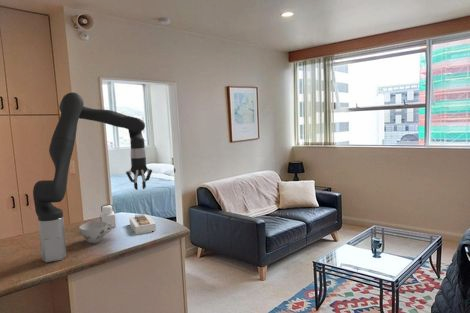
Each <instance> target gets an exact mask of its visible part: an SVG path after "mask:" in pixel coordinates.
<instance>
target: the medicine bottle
mask: <svg viewBox="0 0 470 313" xmlns="http://www.w3.org/2000/svg"><path fill="white" fill-rule="evenodd" d="M100 210H101V211H100V215H99V216H100V221H101V222H107V223H108V224H112V229H113V228H116V227H117V223H116V214H115V212H114V206H113V204H103V205H102V206H101V207H100ZM110 228H111V227H110V226H108V229H110Z"/></svg>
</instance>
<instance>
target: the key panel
mask: <svg viewBox="0 0 470 313" xmlns="http://www.w3.org/2000/svg"><path fill="white" fill-rule="evenodd" d="M144 216H145V217H146V218H147V219H148V220H149V222H150V224H147V225H140V224H139V222H138V221H137V219H135V216H130V217H129V225H130V227H131V228H132V230H133V232H134V233H135V235H141V234H148V233H152V231H154V232H157V229H156V228H157V227H156V226H157V225H156V223H155V221H154V220H153V219H152V218H151V216H149V214H144ZM147 232H148V233H147Z"/></svg>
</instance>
